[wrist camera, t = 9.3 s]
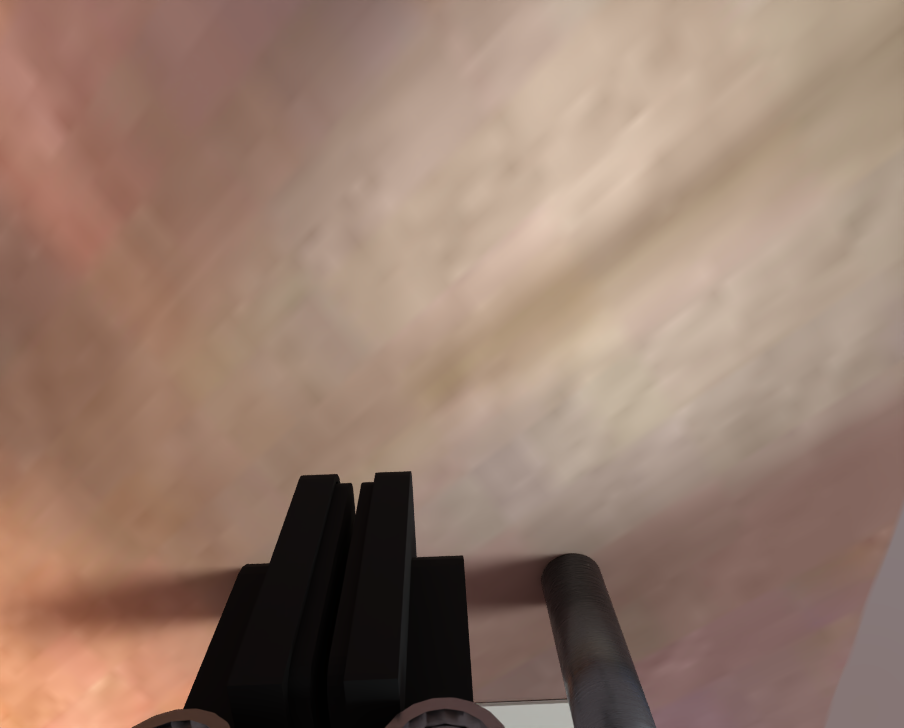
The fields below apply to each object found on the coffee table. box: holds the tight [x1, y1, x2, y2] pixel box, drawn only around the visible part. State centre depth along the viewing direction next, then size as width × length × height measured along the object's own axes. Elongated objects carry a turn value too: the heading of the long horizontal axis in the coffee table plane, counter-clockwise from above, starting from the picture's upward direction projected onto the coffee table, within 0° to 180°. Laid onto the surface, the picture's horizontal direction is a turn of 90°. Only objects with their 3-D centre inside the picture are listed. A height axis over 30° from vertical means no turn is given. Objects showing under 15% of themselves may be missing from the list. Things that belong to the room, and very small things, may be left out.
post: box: [541, 554, 656, 728], centre depth 25 cm, size 3×3×9 cm
